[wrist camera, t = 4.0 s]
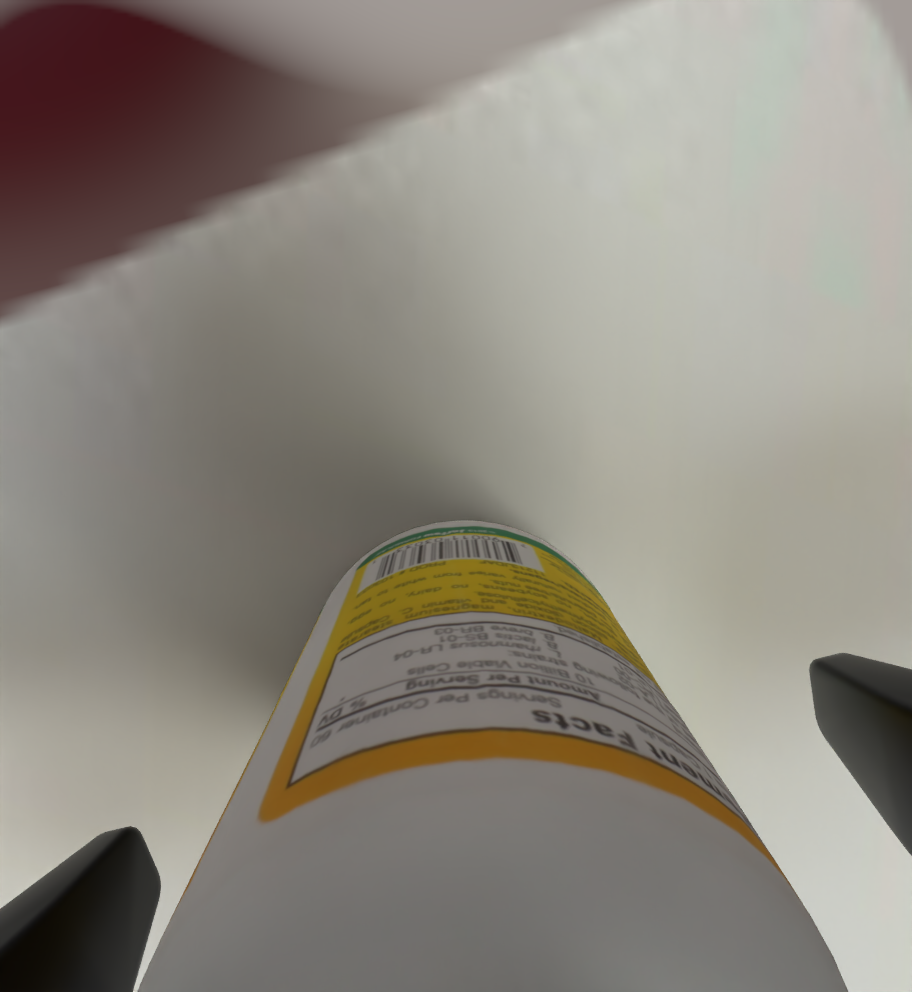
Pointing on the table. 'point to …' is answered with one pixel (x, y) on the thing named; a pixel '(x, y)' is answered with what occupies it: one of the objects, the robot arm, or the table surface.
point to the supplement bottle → (482, 805)
